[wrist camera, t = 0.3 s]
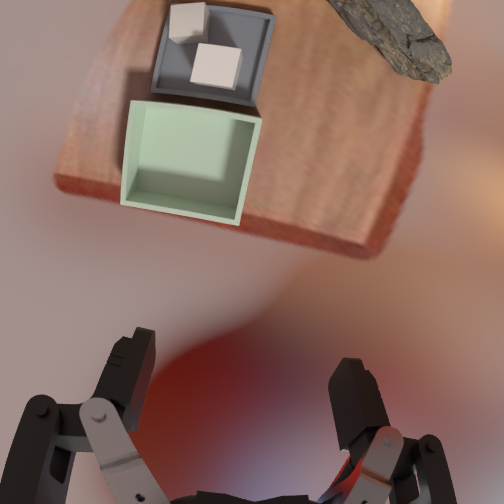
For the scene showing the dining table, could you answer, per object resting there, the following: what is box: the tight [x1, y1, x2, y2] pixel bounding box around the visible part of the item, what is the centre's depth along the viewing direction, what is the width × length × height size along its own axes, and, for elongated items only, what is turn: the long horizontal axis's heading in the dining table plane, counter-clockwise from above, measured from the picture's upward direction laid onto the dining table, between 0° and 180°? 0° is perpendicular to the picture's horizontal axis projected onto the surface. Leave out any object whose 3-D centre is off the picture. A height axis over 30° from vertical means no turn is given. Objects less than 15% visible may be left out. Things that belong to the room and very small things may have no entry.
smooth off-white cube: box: [169, 2, 210, 44], centre depth 24 cm, size 4×4×4 cm
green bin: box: [120, 100, 263, 226], centre depth 32 cm, size 12×14×4 cm
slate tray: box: [150, 3, 277, 107], centre depth 27 cm, size 12×12×2 cm
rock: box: [328, 0, 452, 84], centre depth 23 cm, size 17×7×10 cm
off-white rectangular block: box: [190, 43, 243, 90], centre depth 26 cm, size 4×4×6 cm
